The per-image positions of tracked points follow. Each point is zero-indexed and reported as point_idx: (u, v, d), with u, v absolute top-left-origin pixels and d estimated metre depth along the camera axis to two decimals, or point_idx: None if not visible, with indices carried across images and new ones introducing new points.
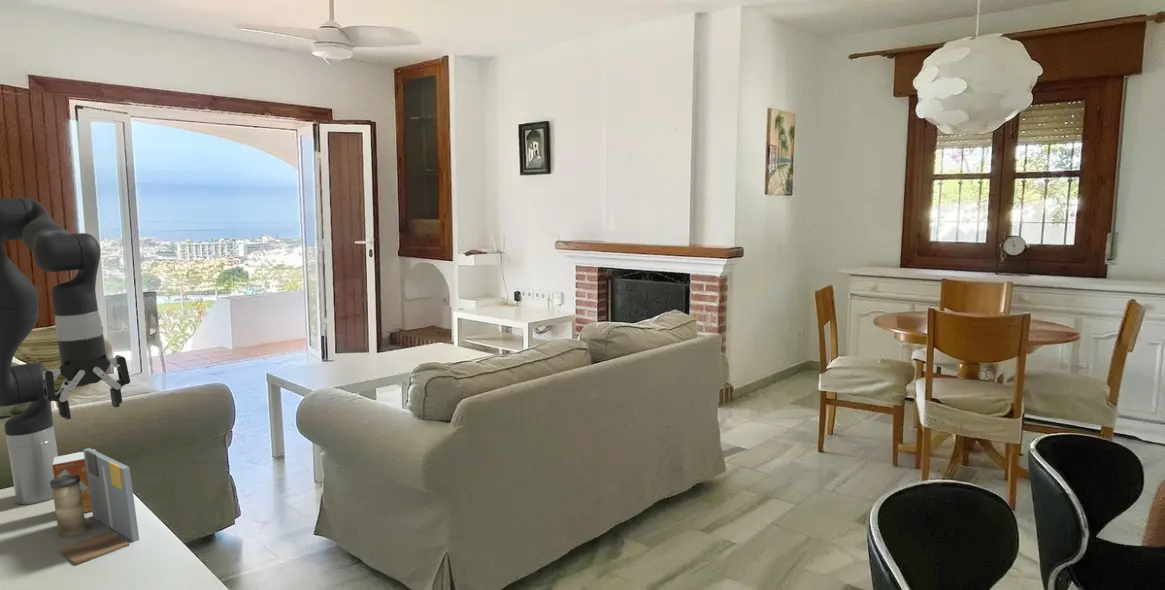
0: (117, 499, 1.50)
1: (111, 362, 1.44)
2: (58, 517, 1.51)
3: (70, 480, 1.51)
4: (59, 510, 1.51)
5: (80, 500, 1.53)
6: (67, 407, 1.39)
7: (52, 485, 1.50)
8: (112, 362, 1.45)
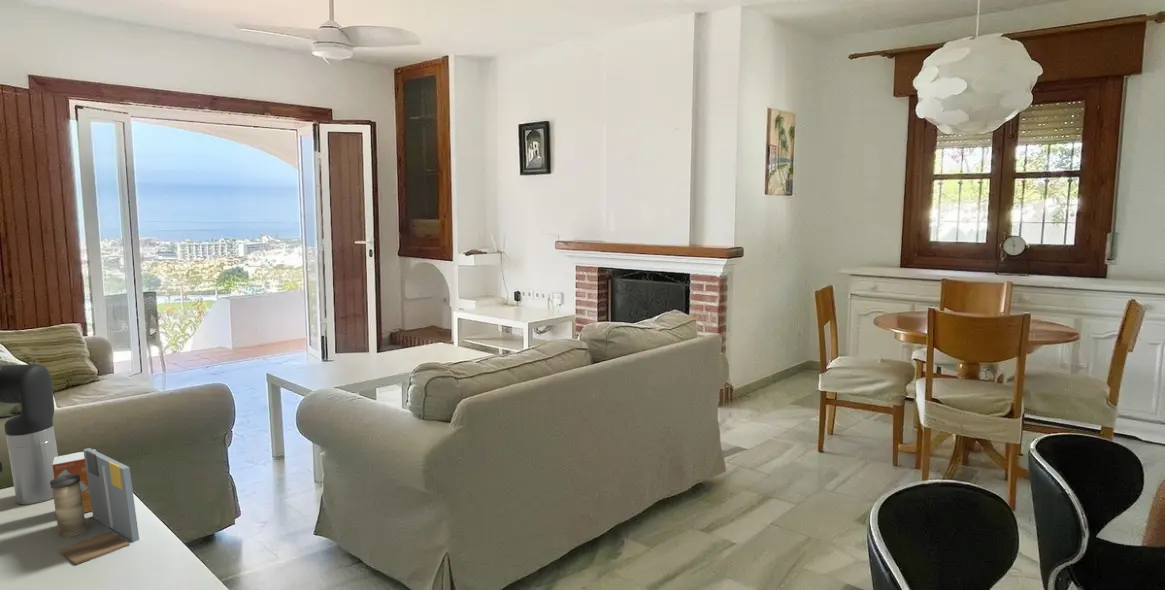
0: (117, 499, 1.50)
1: None
2: (58, 517, 1.51)
3: (70, 480, 1.51)
4: (59, 510, 1.51)
5: (80, 500, 1.53)
6: None
7: (52, 485, 1.50)
8: None
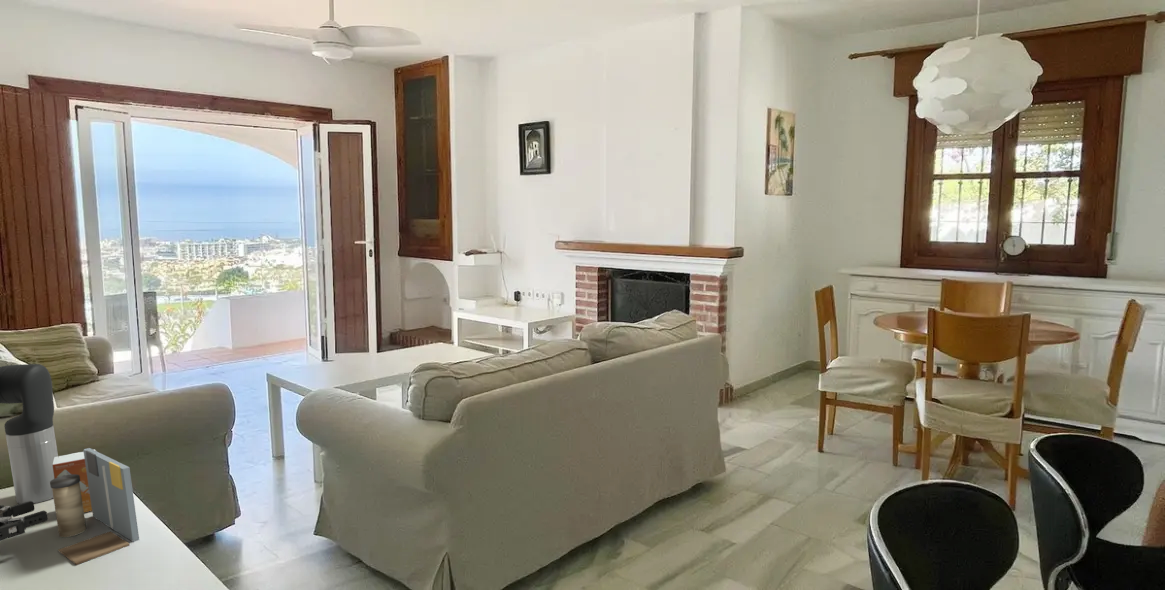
0: (117, 499, 1.50)
1: None
2: (58, 517, 1.51)
3: (70, 480, 1.51)
4: (59, 510, 1.51)
5: (80, 500, 1.53)
6: None
7: (52, 485, 1.50)
8: None
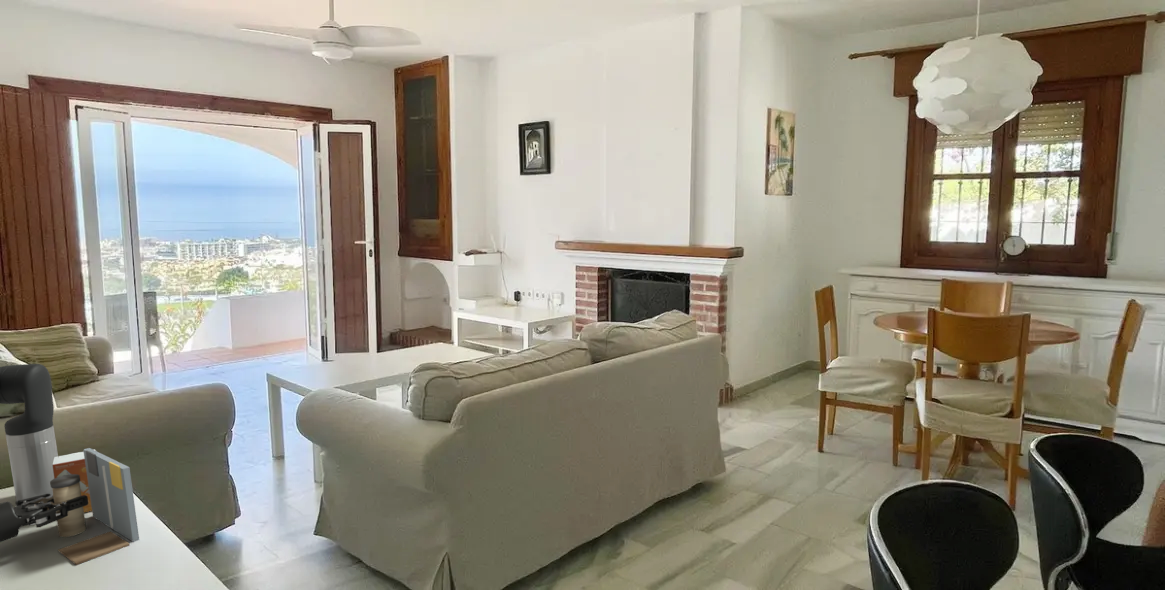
0: (117, 499, 1.50)
1: None
2: None
3: (70, 480, 1.51)
4: (59, 510, 1.51)
5: None
6: None
7: (52, 485, 1.50)
8: None
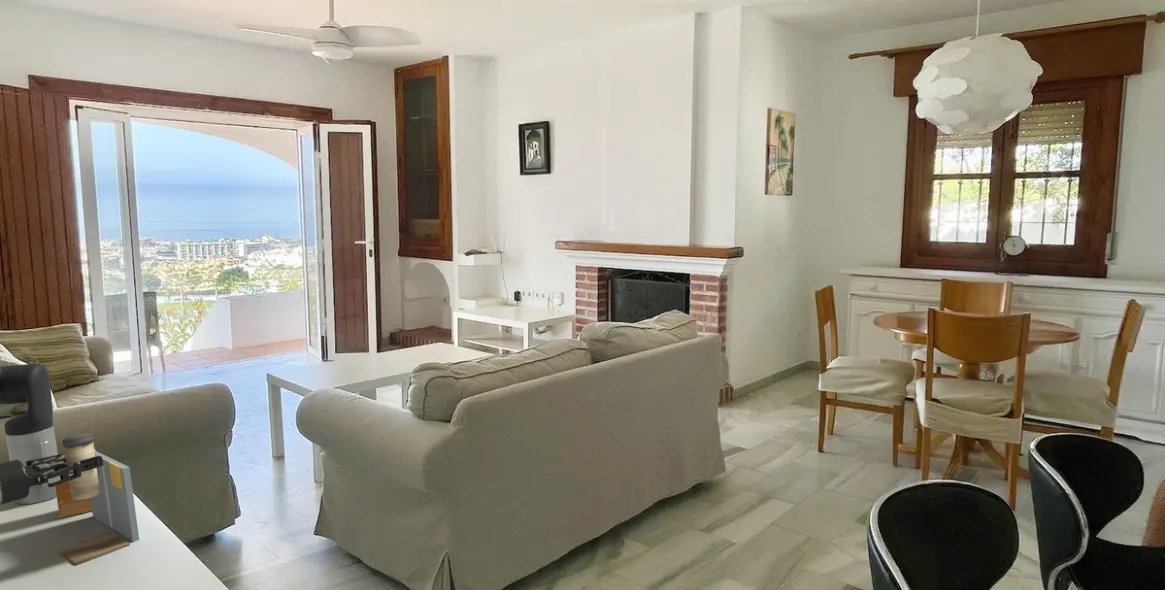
0: (117, 499, 1.50)
1: None
2: None
3: (84, 439, 1.41)
4: (71, 470, 1.41)
5: None
6: None
7: (65, 444, 1.40)
8: None
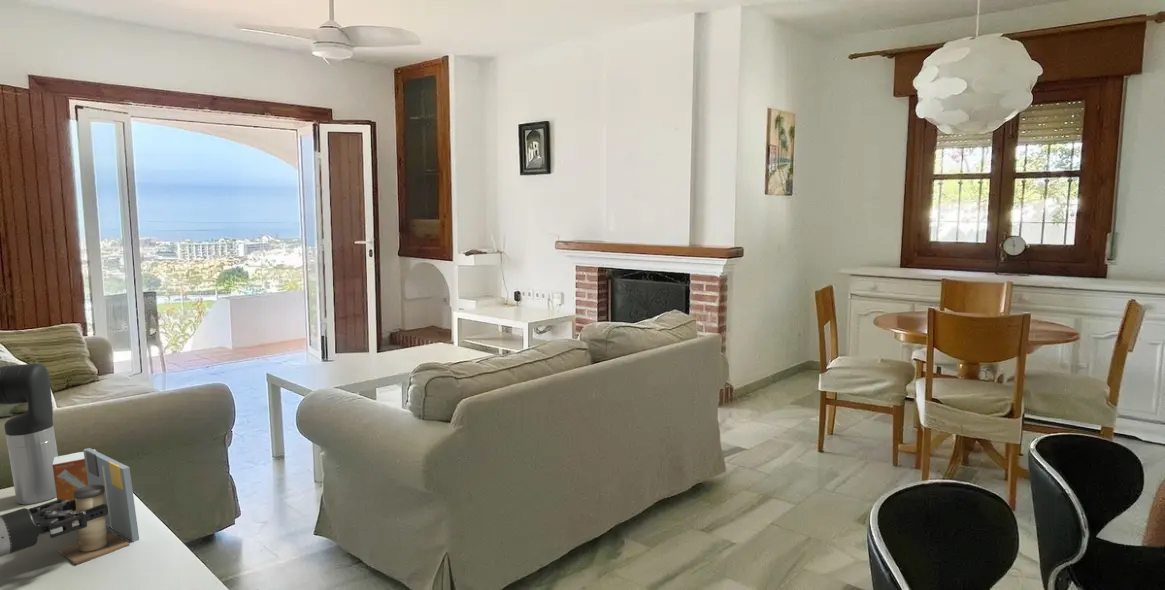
0: (117, 499, 1.50)
1: None
2: (79, 529, 1.43)
3: (95, 491, 1.44)
4: None
5: None
6: None
7: (76, 495, 1.42)
8: None
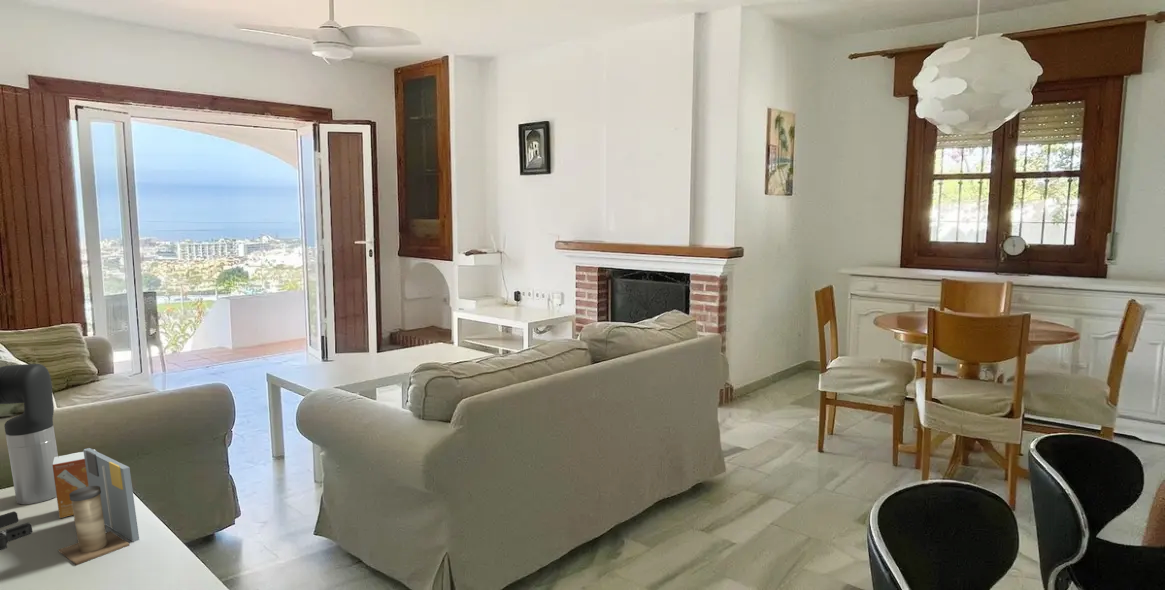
0: (117, 499, 1.50)
1: None
2: (78, 531, 1.43)
3: (90, 492, 1.43)
4: (79, 524, 1.42)
5: (101, 513, 1.45)
6: None
7: (72, 498, 1.42)
8: None
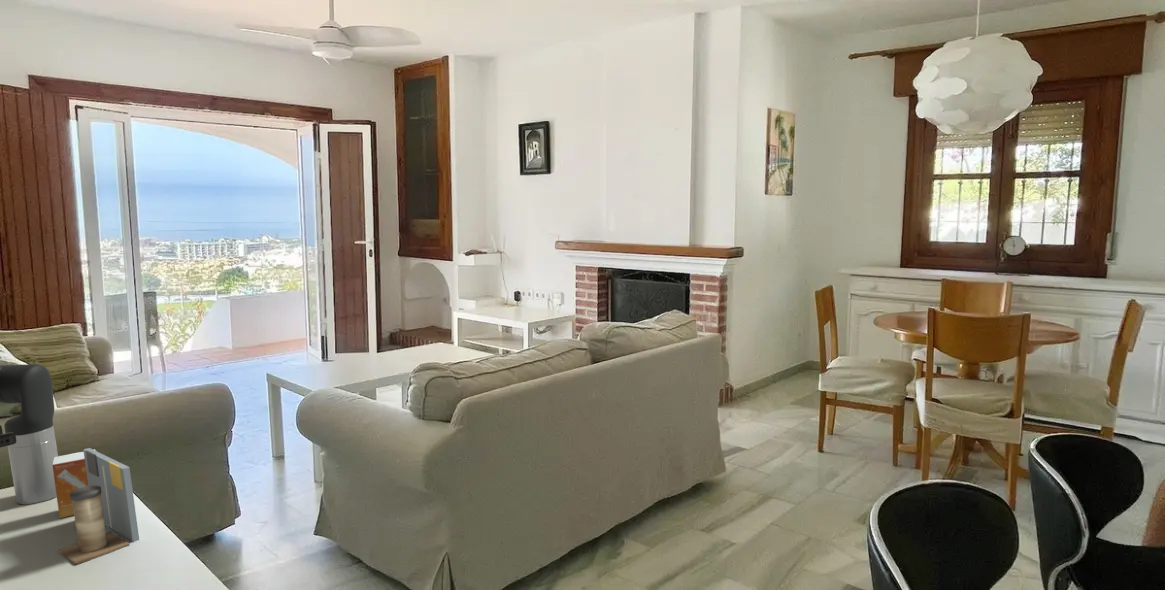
0: (117, 499, 1.50)
1: None
2: (78, 531, 1.43)
3: (91, 492, 1.43)
4: (79, 523, 1.42)
5: (101, 513, 1.45)
6: None
7: (72, 497, 1.42)
8: None
